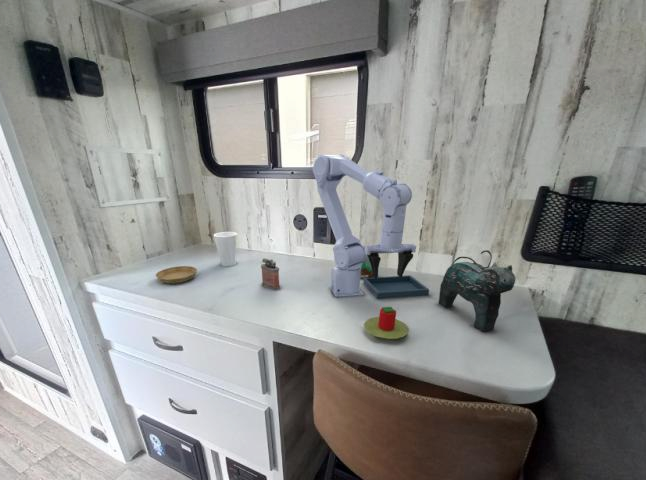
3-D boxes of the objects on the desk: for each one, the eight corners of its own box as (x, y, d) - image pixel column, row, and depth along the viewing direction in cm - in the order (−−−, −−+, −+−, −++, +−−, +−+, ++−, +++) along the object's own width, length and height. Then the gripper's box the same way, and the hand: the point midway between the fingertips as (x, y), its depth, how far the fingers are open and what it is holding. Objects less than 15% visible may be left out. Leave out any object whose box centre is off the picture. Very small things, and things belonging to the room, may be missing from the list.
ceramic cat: (502, 333, 79) (525, 258, 71) (481, 337, 78) (502, 261, 69) (448, 301, 97) (462, 238, 88) (431, 304, 95) (443, 240, 86)
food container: (376, 281, 113) (379, 255, 109) (360, 280, 114) (361, 254, 110) (376, 270, 124) (378, 246, 119) (361, 269, 125) (362, 245, 121)
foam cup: (222, 260, 138) (219, 231, 133) (242, 261, 137) (239, 231, 132) (214, 267, 130) (209, 236, 124) (235, 267, 129) (231, 237, 123)
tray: (376, 299, 99) (377, 293, 98) (363, 284, 111) (363, 278, 110) (428, 295, 101) (429, 289, 100) (409, 281, 113) (410, 275, 112)
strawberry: (381, 331, 77) (383, 313, 75) (376, 323, 80) (377, 306, 78) (396, 329, 77) (399, 311, 75) (390, 322, 81) (392, 304, 79)
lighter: (282, 288, 108) (280, 260, 104) (275, 290, 106) (273, 263, 102) (267, 282, 113) (265, 256, 109) (260, 285, 111) (258, 258, 107)
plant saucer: (165, 289, 108) (163, 282, 107) (151, 278, 118) (150, 271, 117) (204, 278, 117) (203, 272, 116) (188, 269, 127) (187, 263, 126)
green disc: (380, 349, 73) (381, 342, 72) (355, 327, 82) (355, 321, 82) (417, 338, 77) (418, 332, 76) (389, 319, 86) (390, 313, 86)
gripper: (372, 235, 81) (368, 282, 86) (424, 232, 83) (416, 279, 88) (363, 229, 87) (360, 274, 93) (412, 227, 89) (405, 271, 95)
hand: (387, 276), depth 91 cm, fingers open, 7 cm apart
